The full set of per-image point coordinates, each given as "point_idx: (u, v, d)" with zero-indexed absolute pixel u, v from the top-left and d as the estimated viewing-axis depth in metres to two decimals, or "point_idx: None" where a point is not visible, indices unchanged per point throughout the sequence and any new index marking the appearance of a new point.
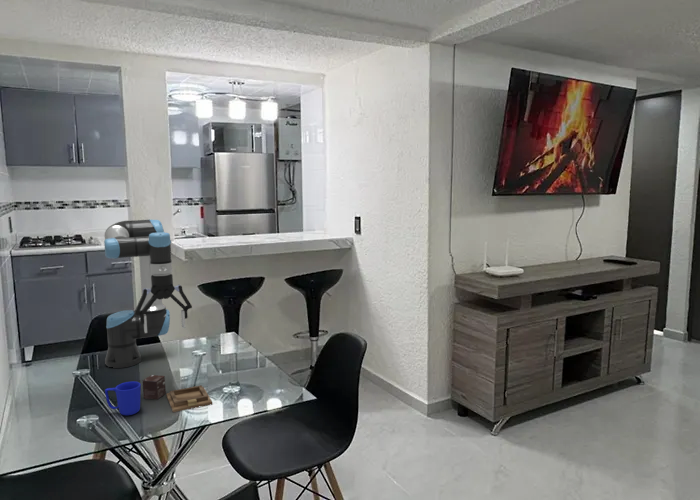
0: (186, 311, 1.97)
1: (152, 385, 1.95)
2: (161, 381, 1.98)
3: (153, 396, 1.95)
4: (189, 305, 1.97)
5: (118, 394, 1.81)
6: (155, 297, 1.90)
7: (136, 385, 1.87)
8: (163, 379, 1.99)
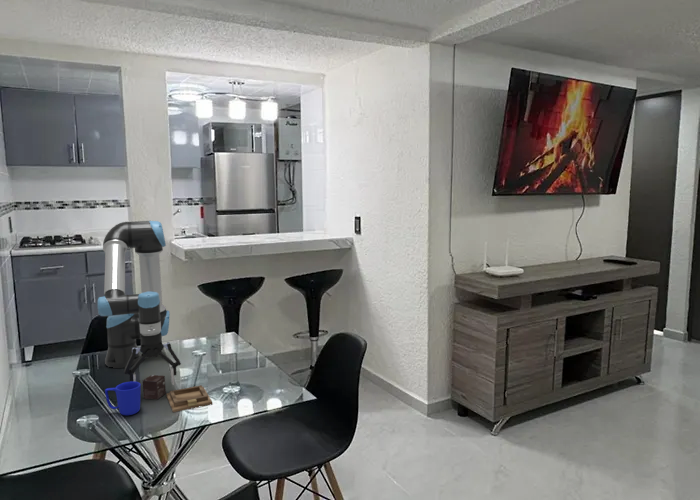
0: (175, 368, 2.00)
1: (152, 385, 1.95)
2: (161, 381, 1.98)
3: (153, 396, 1.95)
4: (178, 362, 2.00)
5: (118, 394, 1.81)
6: (144, 356, 1.94)
7: (136, 385, 1.87)
8: (163, 379, 1.99)
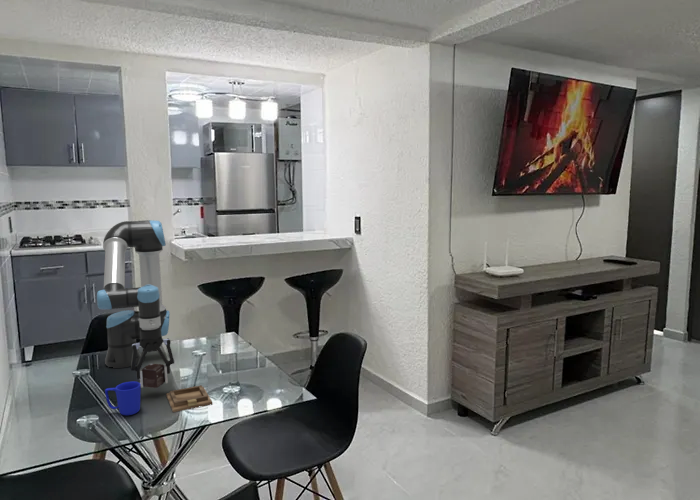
0: (168, 366, 2.00)
1: (151, 374, 1.95)
2: (160, 369, 1.98)
3: (152, 385, 1.96)
4: (172, 360, 1.99)
5: (118, 394, 1.81)
6: (145, 351, 1.94)
7: (136, 385, 1.87)
8: (162, 368, 1.99)
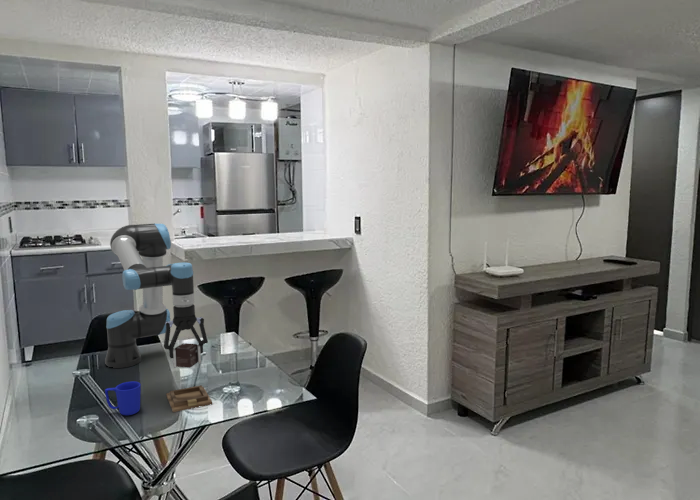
0: (202, 346, 1.94)
1: (184, 353, 1.89)
2: (193, 349, 1.92)
3: (186, 364, 1.90)
4: (205, 340, 1.94)
5: (118, 394, 1.81)
6: (179, 329, 1.89)
7: (136, 385, 1.87)
8: (195, 347, 1.94)
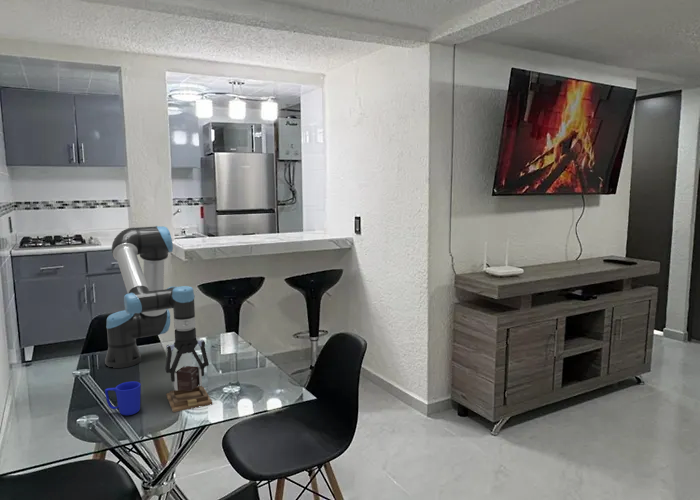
0: (203, 369, 1.95)
1: (186, 376, 1.90)
2: (195, 372, 1.93)
3: (187, 388, 1.91)
4: (206, 363, 1.95)
5: (118, 394, 1.81)
6: (180, 352, 1.90)
7: (136, 385, 1.87)
8: (197, 370, 1.95)
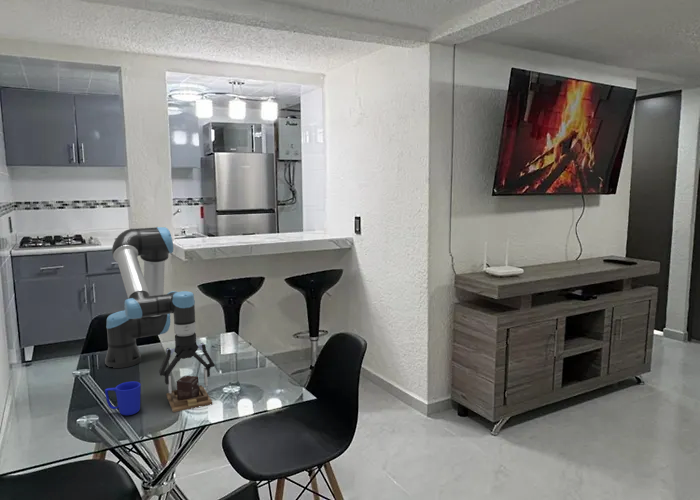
0: (208, 369, 1.96)
1: (186, 386, 1.91)
2: (195, 381, 1.94)
3: (187, 398, 1.92)
4: (212, 363, 1.96)
5: (118, 394, 1.81)
6: (179, 357, 1.90)
7: (136, 385, 1.87)
8: (197, 380, 1.95)
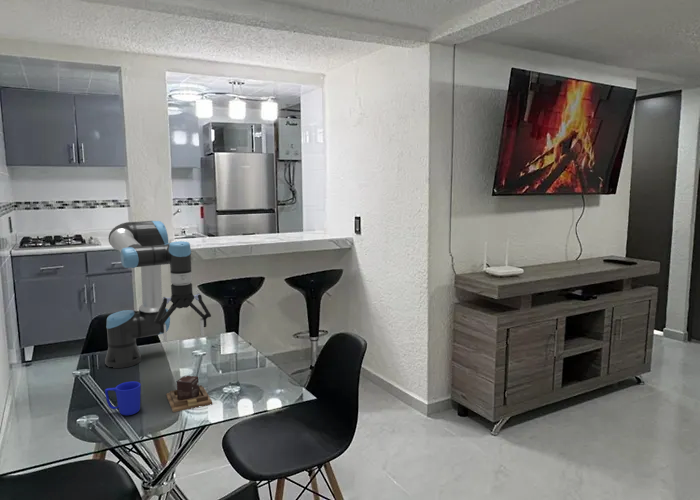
0: (205, 320, 1.97)
1: (186, 386, 1.91)
2: (195, 381, 1.94)
3: (187, 398, 1.92)
4: (208, 314, 1.97)
5: (118, 394, 1.81)
6: (175, 306, 1.91)
7: (136, 385, 1.87)
8: (197, 380, 1.95)
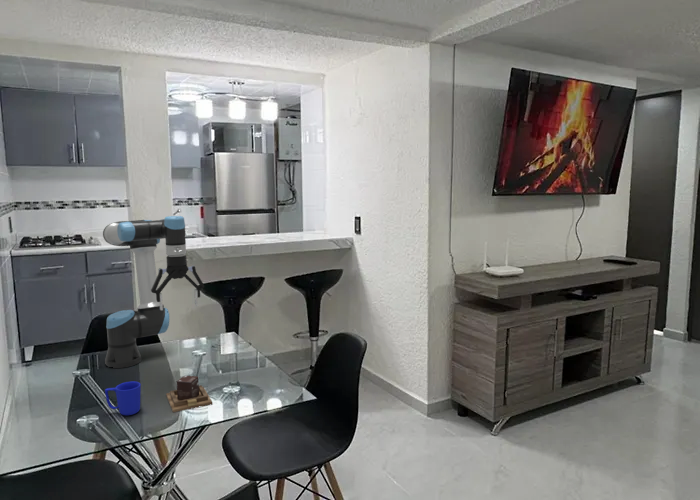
0: (199, 290, 2.09)
1: (186, 386, 1.91)
2: (195, 381, 1.94)
3: (187, 398, 1.92)
4: (202, 285, 2.09)
5: (118, 394, 1.81)
6: (170, 276, 2.02)
7: (136, 385, 1.87)
8: (197, 380, 1.95)
